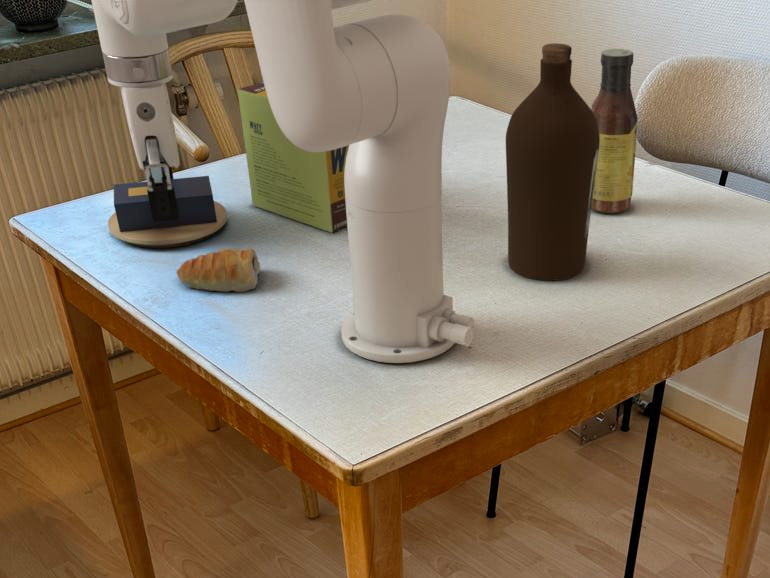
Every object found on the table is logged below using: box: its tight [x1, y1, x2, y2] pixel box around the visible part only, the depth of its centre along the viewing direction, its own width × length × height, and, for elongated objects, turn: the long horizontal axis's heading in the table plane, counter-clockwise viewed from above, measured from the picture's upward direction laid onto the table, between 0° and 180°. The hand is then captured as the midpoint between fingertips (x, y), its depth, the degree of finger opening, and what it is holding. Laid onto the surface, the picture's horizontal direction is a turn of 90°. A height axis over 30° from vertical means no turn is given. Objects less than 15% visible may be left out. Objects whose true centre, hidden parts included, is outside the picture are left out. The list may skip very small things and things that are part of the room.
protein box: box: [237, 81, 349, 233], centre depth 132 cm, size 10×15×16 cm
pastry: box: [176, 246, 261, 293], centre depth 118 cm, size 9×7×4 cm
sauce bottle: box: [590, 48, 639, 214], centre depth 132 cm, size 6×6×20 cm
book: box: [107, 175, 228, 245], centre depth 129 cm, size 15×15×4 cm
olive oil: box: [505, 42, 600, 281], centre depth 115 cm, size 11×11×25 cm
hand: (164, 205), depth 130 cm, fingers open, 9 cm apart
